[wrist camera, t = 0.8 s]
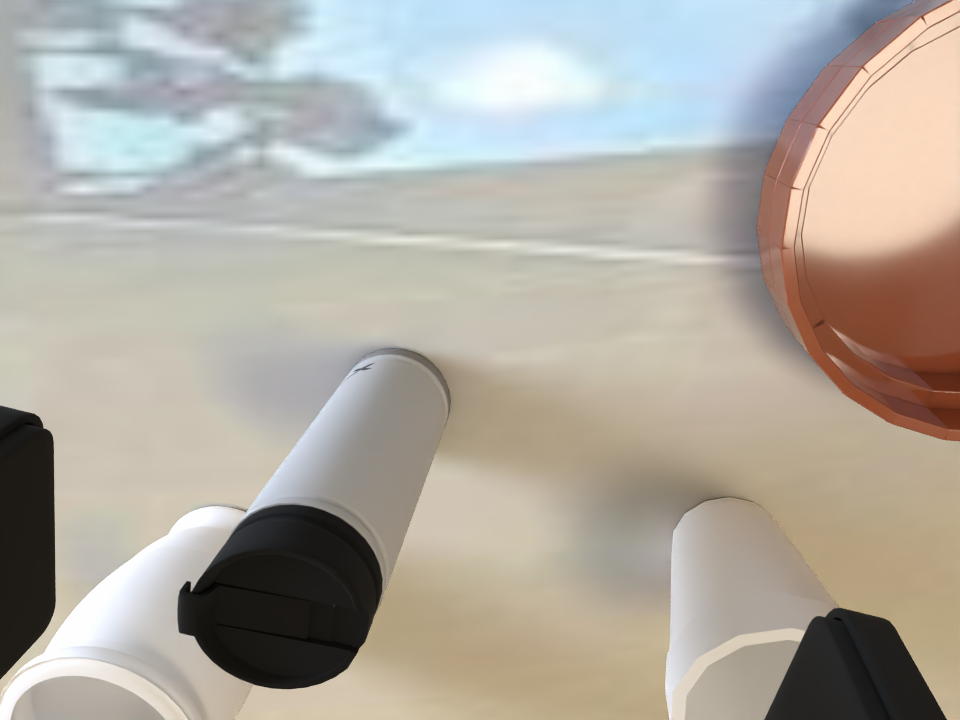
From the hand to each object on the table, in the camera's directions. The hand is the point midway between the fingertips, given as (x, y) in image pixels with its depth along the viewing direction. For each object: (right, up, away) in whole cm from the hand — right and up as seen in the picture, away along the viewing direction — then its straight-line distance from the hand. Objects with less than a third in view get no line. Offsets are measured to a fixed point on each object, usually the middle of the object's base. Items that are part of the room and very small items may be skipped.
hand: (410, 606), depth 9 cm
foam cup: (+16, -8, +36) cm, 40 cm away
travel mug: (-4, +1, +35) cm, 36 cm away
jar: (-15, -10, +41) cm, 45 cm away
